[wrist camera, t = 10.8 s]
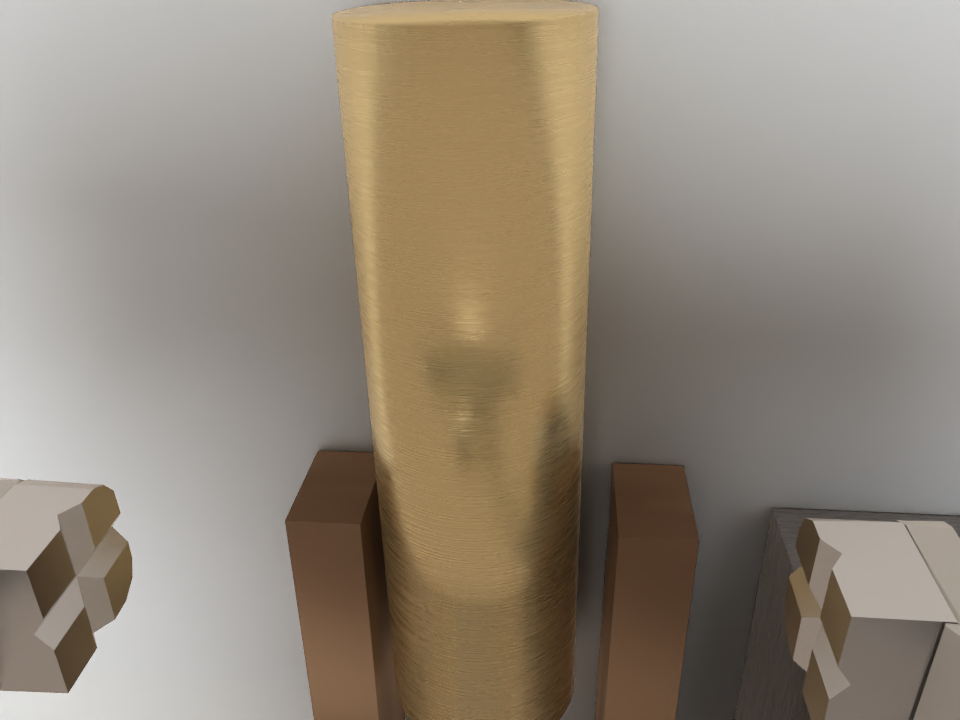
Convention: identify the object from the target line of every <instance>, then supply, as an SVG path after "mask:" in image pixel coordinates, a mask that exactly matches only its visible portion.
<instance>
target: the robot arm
mask: <svg viewBox="0 0 960 720" xmlns="http://www.w3.org/2000/svg"><path fill="white" fill-rule="evenodd" d="M119 514H120V510H119V507H118V504H117V500H116V497H115V494H114V491H113V490H111V489H109V488H108V487H106V486H104V485H98V484H83V483H69V482H54V481H40V480H20V479H2V478H0V690H1V691H27V692H53V693H69V691H70V689H71V688H72V686H73V685H74V683H75V682H76V680H77V678H78V677H79V675H80V674H81V672H82V671H83V669H84V667H85V666H86V664H87V663H88V661H89V660H90V658H91V656H92V655H93V653H94V652H95V650H96V649H97V646H96V642H95V638H94V634H93V633H94V632H95V631H97V630H99V629H100V628H102V627H103V626H105V625H106V624H108V623H110V622H111V621H113V620H114V619H115V618H116V617H117V615H118V613H119V611H120V610H121V608H122V606H123V605H124V603H125V601H126V599H127V595H128V591H129V587H130V584H131V580H132V556H131V552H130V548H129V544H128V542H127V541H126V540H125V539H124V538H123V537H122V536H121V535H120V534H119V533H118V532H117V531H116V530H115V529H114V528H113V527H112V526H113V524H114V523H115V521H116V519H117V518H118V516H119ZM795 547H796V550H797V553H798V556H799V559H800V562H801V565H802V566H800V567H799V568H798V569H797V570H796V571H795V572H793V573H792V574H791V575H790V576H789V578H788V584H787V589H786V595H785V628H786V634H787V641H788V645H789V648H790V652H791V655H792V659H793V660H794V661H795V662H796V663H797V664H798V665H799V666H800V667H802V668H803V669H804V670H805V671H806V672H807V674H806V679H805V683H804V688H803V696H804V699H805V702H806V705H807V709H808V712H809V715H810V718H811V720H960V538H959V537H958V535H957V533H956V532H955V530H954V529H953V527H952V526H950V525H949V524H947V523H945V522H944V521H903V520H897V521H896V522H889V521H865V520H841V519H817V518H804V520H803V522H802V524H801V526H800V528H799V531H798V535H797V540H796V544H795Z"/></svg>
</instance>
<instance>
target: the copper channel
mask: <svg viewBox="0 0 960 720" xmlns="http://www.w3.org/2000/svg"><path fill="white" fill-rule="evenodd" d="M285 524H286V530H287V537H288V544H289V551H290V558H291V565H292V571H293V578H294V585H295V592H296V599H297V606H298V612H299V619H300V626H301V633H302V640H303V646H304V653H305V660H306V667H307V674H308V681H309V687H310V694H311V701H312V708H313V715H314V720H405V715H404V710H403V709H402V707H401V704H400V701H399V698H398V693H397V687H396V677H395V666H394V656H393V646H392V636H391V625H390V615H389V605H388V594H387V584H386V574H385V563H384V553H383V543H382V532H381V522H380V512H379V501H378V491H377V481H376V470H375V460H374V453H366V452H342V451H318V452H317V454H316V456H315V458H314V460H313V462H312V465H311V467H310V469H309V471H308V473H307V475H306V477H305V479H304V482H303V484H302V486H301V488H300V490H299V492H298V494H297V497H296V499H295V501H294V503H293V505H292V507H291V509H290V511H289V514H288V516H287V518H286V520H285ZM698 545H699V539H698V534H697V529H696V524H695V519H694V514H693V510H692V505H691V500H690V495H689V490H688V485H687V481H686V476H685V471H684V466H674V465H651V464H627V463H613V468H612V482H611V496H610V510H609V524H608V538H607V552H606V566H605V580H604V594H603V608H602V622H601V636H600V650H599V664H598V678H597V692H596V706H595V720H675V717H676V710H677V702H678V695H679V687H680V680H681V672H682V665H683V657H684V650H685V642H686V635H687V628H688V620H689V613H690V605H691V598H692V590H693V583H694V575H695V568H696V560H697V553H698Z"/></svg>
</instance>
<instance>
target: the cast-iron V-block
mask: <svg viewBox="0 0 960 720" xmlns="http://www.w3.org/2000/svg"><path fill="white" fill-rule="evenodd" d="M804 518H817V519H841V520H865V521H889V522H896V521H897V520H903V521H944V522H945V523H947V524H949V525H950V526H952V527H953V529H954V530H955V532H956V533H957V535H958V537H959V538H960V517H958V516H936V515H915V514H893V513H871V512H849V511H828V510H806V509H784V508H772V513H771V519H770V524H769V530H768V535H767V541H766V546H765V552H764V557H763V563H762V569H761V574H760V580H759V585H758V591H757V596H756V602H755V608H754V613H753V619H752V624H751V630H750V635H749V641H748V646H747V652H746V658H745V663H744V669H743V674H742V680H741V685H740V691H739V696H738V702H737V708H736V713H735V719H734V720H811V718H810V715H809V712H808V709H807V705H806V702H805V699H804V696H803V688H804V683H805V679H806V674H807V672H806V671H805V670H804V669H803V668H802V667H800V666H799V665H798V664H797V663H796V662H795V661H794V660H793V659H792V655H791V652H790V648H789V645H788V641H787V634H786V628H785V595H786V589H787V584H788V578H789V576H790V575H791V574H792V573H793V572H795V571H796V570H797V569H798V568H799V567H800V566H802V565H801V562H800V559H799V556H798V553H797V550H796V547H795V544H796V540H797V535H798V531H799V528H800V526H801V524H802V522H803V520H804Z"/></svg>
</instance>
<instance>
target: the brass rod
mask: <svg viewBox="0 0 960 720" xmlns="http://www.w3.org/2000/svg"><path fill="white" fill-rule="evenodd" d="M598 18H599V8H598V7H597V6H595V5H592V4H587V3H582V2H573V1H563V0H438V1H413V2H400V3H389V4H379V5H370V6H363V7H356V8H351V9H346V10H342V11H338V12H336V13H334V14H332V27H333V37H334V47H335V58H336V68H337V78H338V89H339V99H340V109H341V120H342V130H343V140H344V151H345V161H346V171H347V182H348V192H349V202H350V213H351V223H352V233H353V243H354V254H355V264H356V274H357V285H358V295H359V305H360V316H361V326H362V336H363V347H364V357H365V367H366V378H367V388H368V398H369V409H370V419H371V429H372V439H373V450H374V460H375V470H376V481H377V491H378V501H379V512H380V522H381V532H382V543H383V553H384V563H385V574H386V584H387V594H388V605H389V615H390V625H391V636H392V646H393V656H394V666H395V677H396V687H397V693H398V698H399V701H400V704H401V707H402V709H403V710H404V712H405V714H406V716H407V717H408V718H409V720H560V718H561V717H562V715H563V714H564V712H565V711H566V709H567V707H568V705H569V703H570V700H571V697H572V693H573V686H574V665H575V638H576V611H577V584H578V557H579V530H580V504H581V477H582V450H583V423H584V396H585V369H586V342H587V315H588V288H589V261H590V234H591V207H592V180H593V153H594V126H595V99H596V72H597V45H598Z"/></svg>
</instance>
